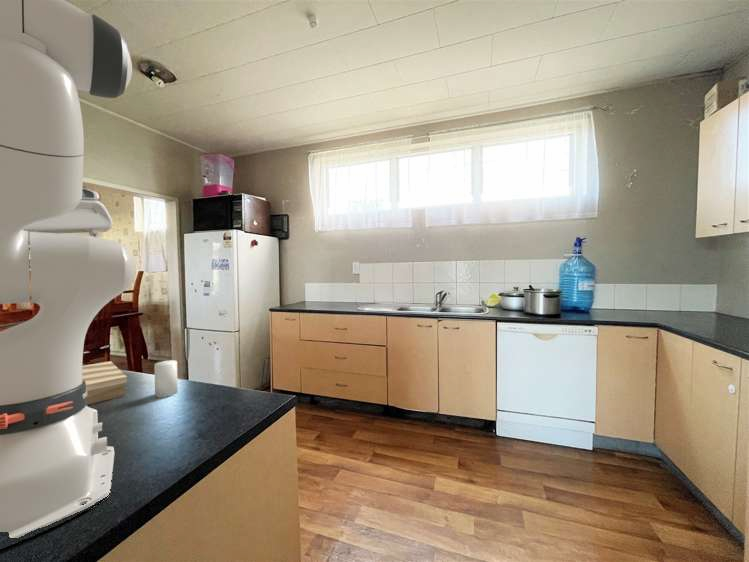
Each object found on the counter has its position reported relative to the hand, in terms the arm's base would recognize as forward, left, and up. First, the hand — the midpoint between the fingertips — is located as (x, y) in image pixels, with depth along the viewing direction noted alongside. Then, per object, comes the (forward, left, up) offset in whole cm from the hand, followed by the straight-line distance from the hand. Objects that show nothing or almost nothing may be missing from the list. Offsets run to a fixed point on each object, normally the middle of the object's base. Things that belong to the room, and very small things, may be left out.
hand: (72, 249), depth 74 cm
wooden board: (+9, -3, -38) cm, 39 cm away
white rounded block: (-9, -17, -38) cm, 43 cm away
